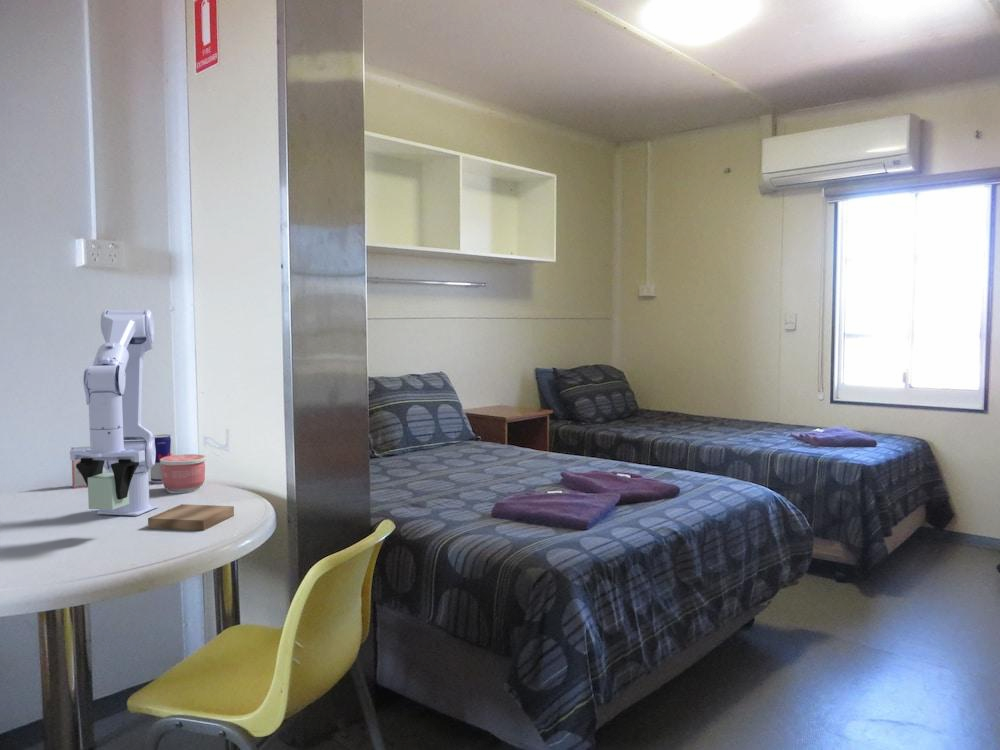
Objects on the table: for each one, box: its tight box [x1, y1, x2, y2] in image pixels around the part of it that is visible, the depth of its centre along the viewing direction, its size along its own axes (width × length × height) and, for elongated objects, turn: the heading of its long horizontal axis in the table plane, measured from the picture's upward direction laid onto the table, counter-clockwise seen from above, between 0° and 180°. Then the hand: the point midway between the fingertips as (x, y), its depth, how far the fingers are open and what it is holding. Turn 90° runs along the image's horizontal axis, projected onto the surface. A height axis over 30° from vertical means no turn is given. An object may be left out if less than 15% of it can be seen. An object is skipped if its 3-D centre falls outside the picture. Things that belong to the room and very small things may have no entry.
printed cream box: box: [70, 445, 104, 489], centre depth 194 cm, size 4×7×10 cm, turn 119°
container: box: [160, 453, 207, 494], centre depth 188 cm, size 10×10×8 cm
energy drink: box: [149, 434, 174, 485], centre depth 198 cm, size 5×5×12 cm
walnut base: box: [147, 503, 235, 532], centre depth 158 cm, size 12×12×2 cm
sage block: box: [87, 472, 129, 510], centre depth 147 cm, size 5×5×6 cm
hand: (109, 497), depth 147 cm, fingers closed on sage block, 5 cm apart
